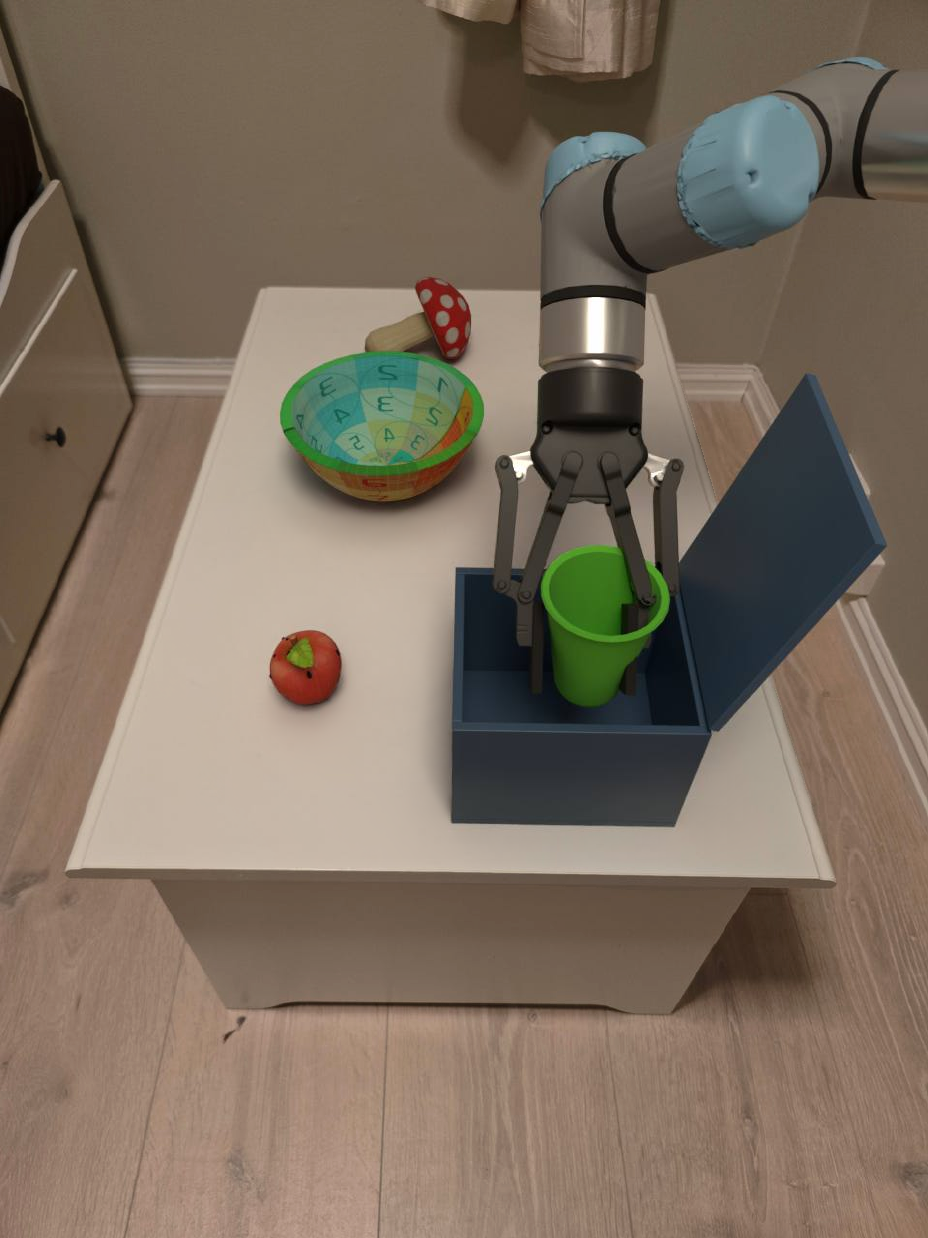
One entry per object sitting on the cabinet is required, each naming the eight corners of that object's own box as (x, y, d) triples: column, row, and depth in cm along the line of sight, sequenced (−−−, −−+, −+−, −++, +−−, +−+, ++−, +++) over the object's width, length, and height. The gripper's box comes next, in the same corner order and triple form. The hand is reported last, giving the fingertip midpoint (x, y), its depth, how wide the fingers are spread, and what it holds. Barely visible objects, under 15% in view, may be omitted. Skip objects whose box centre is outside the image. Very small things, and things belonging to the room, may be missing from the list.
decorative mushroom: (343, 312, 113) (451, 259, 111) (351, 313, 123) (450, 266, 122) (381, 394, 116) (487, 345, 114) (386, 389, 126) (483, 344, 125)
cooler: (451, 823, 76) (451, 730, 65) (454, 668, 87) (455, 566, 76) (674, 827, 76) (712, 734, 65) (650, 672, 87) (679, 570, 76)
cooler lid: (876, 542, 50) (888, 545, 50) (805, 372, 61) (816, 375, 61) (708, 730, 65) (718, 732, 65) (676, 566, 76) (684, 567, 76)
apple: (260, 689, 85) (241, 620, 77) (318, 652, 88) (306, 583, 80) (306, 740, 81) (292, 674, 74) (366, 700, 84) (358, 632, 77)
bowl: (456, 408, 114) (457, 338, 106) (503, 525, 100) (508, 455, 92) (281, 432, 110) (269, 362, 103) (304, 558, 96) (292, 488, 89)
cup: (510, 701, 70) (519, 609, 61) (558, 623, 75) (572, 528, 66) (618, 748, 67) (643, 659, 59) (659, 664, 72) (687, 570, 64)
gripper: (708, 385, 68) (696, 686, 70) (458, 380, 68) (452, 681, 70) (738, 365, 60) (724, 702, 62) (457, 359, 60) (451, 697, 62)
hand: (581, 691), depth 66 cm, fingers closed on cup, 6 cm apart
